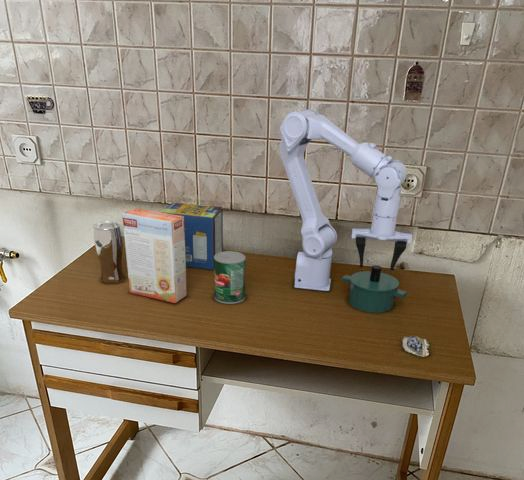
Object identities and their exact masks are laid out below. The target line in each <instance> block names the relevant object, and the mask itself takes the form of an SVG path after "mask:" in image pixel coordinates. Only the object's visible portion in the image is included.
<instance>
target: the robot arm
mask: <svg viewBox="0 0 524 480" xmlns="http://www.w3.org/2000/svg"><path fill="white" fill-rule="evenodd" d="M279 132H280V134H281V136H280V147H279V149H280V150H279V154H280V158H281V161H282V164H283V167H284V170H285V173H286V176H287V179H288V183H289V185H290V188H291V190H292V193H293V197H294V199H295V202H296V206H297V209H298V211H299V214H300V217H301V220H302V225H301V230H300V234H301V237H302V243H301V247H302V250H303V251H298V252H297V256H296V262H295V263H296V264H295V272H294V286H293V287H294V288H295V289H304V290H312V291H313V290H314V291H322V292H330V289H331V282H332V279H331V278H330V277H331V268H332V259H333V247H334V246H335V245H336V243H337V240H338V234H337V231H336V230H335V228H334V227H333V226H332V225H331V223H330V220H329V218H328V217H327V216H325V215H324V214H323V210H322V208H321V204H320V201H319V199H318V197H317V193H316V189H315V187H314V184H313V181H312V178H311V175H310V171H309V168H308V166H307V163H306V159H305V156H304V153H305V151H306V149H307V147H308V145H309V143H310V142H311V141H312V140H323V141H325V142H327V143H328V144H330V145H332V146H333V147H335V148H336V149H338V150H340V151H341V152H343V153H345V154H346V155H347V156H348V157H350V163H351V164H352V165H353V166H354V167H355V168H357V169H358V170H360V171H361V172H362V173H364V174H365V175H367V176H368V177H370V178H371V179H372V180H374V181H375V185H376V186H377V188H376V189H377V190H376V193H375V199H374V206H373V211H372V212H373V213H372V220H371V226H370V228H352V230H351V239H355V246H356V249H357V252H358V257H359V268H364V267H363V266H364V257H365V249H366V243H367V240H372V241H373V240H374V241H385V242H393V243H394V247H393V254H392V256H391V262H390V265H389V266H390V267H389V269H390V271H392V272H393V271H394V270H395V267H396V264H397V262H398V260H399V259H400V257H401V256H402V254H403V253H404V252H405V251H406V249H407V245H412V243H413V233H405V232H402V231H396V224H397V220H398V214H399V209H400V202H401V199H402V198H401V194H402V190H403V189H402V188H403V185H402V184H403V183H404V182H405V181H406V180H407V177H408V170H407V167H406V165H405V164H404V163H403V162H402V161H401V160H400V159H399V160H398V159H393V156H391V155H388V156H387V155H386V154H384V153H383V152H381V150H379V149H377V148H376V147H377V144H375V143H374V142H370V143H369V142H367V141H365V142H362V143H359V142H357V140H355V139H354V138H352V137H351V136H350V135H349V134H347V133H346V132H344V131H343V130H342V129H340V127H338V126H337V125H336V124H334V123H333V122H332V121H330V120H329V119H328V118H327V117H326V116H325V115H323V114H321V113H318V112H317V111H316V110H315V109H311V108H307V109H304V110H301V111H300V110H299V111H291V112H289V113H288V114H287V115H285V117H284V119H283V121H282V123H281V124H280V127H279Z"/></svg>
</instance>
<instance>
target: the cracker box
mask: <svg viewBox="0 0 524 480" xmlns="http://www.w3.org/2000/svg"><path fill="white" fill-rule="evenodd" d="M121 215H122V216H121V217H122V226H123V227H122V228H123V237H124V248H125V257H126V267H127V276H128V286H129V287H128V288H129V293H130V294H134V295H139V296H142V297H146V298H151V299H155V300H158V301H163V302H168V303H171V304H178V302H180V301H181V300H183V299H185V298H186V297H187V296H188V288H187V287H188V286H187V285H188V284H187V267H186V258H185V233H184V216H179V215H173V214H167V213H161V211H155V210H149V209H144V208H138V207H135V208H132V209H129V210H128V211H124V212H122V213H121Z"/></svg>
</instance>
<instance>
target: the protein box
mask: <svg viewBox="0 0 524 480" xmlns="http://www.w3.org/2000/svg"><path fill="white" fill-rule="evenodd" d="M223 211H224V210H223V207H222V206H216V205H215V206H213V205H203V204H194V203H193V204H192V203H181V202H172V203H170V204H169V205H168V206H166V207H165V208H164V209H162V210H161V211H160V212H161V213H167V214H173V215H179V216H184V233H185V258H186V268H194V269H203V270H210V271H214V255H215V254H217V253H219V252H224V240H223V239H224V236H223V235H224V234H223V233H224V232H223V229H224V226H223V225H224V224H223V223H224V222H223V221H224V218H223V217H224V216H223V215H224V214H223Z"/></svg>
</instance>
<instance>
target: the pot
mask: <svg viewBox="0 0 524 480" xmlns="http://www.w3.org/2000/svg"><path fill="white" fill-rule="evenodd" d="M350 277H351V275H348V274H345V275H344V276H342V277H341V282H345V283H348V284H350V287H349V293H348V304H349V305H350V306H351V307H353V308H354V309H356V310H358V311H362V312H366V313H371V314H372V313H374V314H379V313H380V314H381V313H386V312H389V311H391V310H393V308H394V307H395V306H394V305H395V300H396V297H397V298H399V299H404V298H405V297H406V296H407V294H408V292H407V291H406V290H403V289H398V288H397V289H395V290H393V291H388V292H373V291H368V290H364V289H361V288H358V287H356V286H355V285H353V284H352V283H351V281H350Z"/></svg>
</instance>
